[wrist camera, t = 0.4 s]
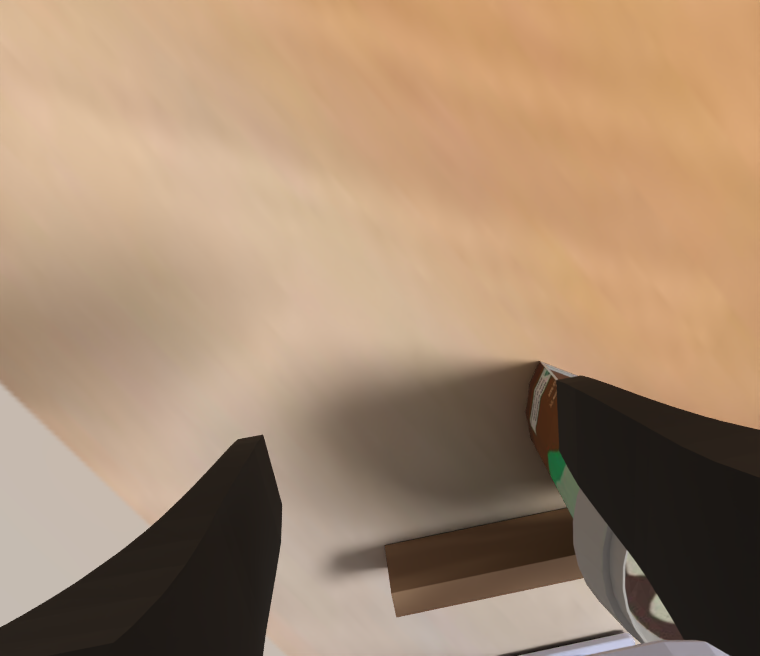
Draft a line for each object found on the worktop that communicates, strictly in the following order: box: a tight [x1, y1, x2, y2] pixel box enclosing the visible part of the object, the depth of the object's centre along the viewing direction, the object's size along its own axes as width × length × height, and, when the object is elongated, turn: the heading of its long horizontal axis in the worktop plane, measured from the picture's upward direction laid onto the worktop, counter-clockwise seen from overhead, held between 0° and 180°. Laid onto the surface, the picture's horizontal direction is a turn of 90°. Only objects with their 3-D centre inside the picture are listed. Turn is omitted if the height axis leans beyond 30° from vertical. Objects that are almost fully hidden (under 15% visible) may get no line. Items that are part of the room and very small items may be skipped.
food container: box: [526, 361, 684, 644], centre depth 21 cm, size 12×6×10 cm, turn 67°
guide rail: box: [385, 508, 584, 617], centre depth 24 cm, size 10×26×3 cm, turn 100°
